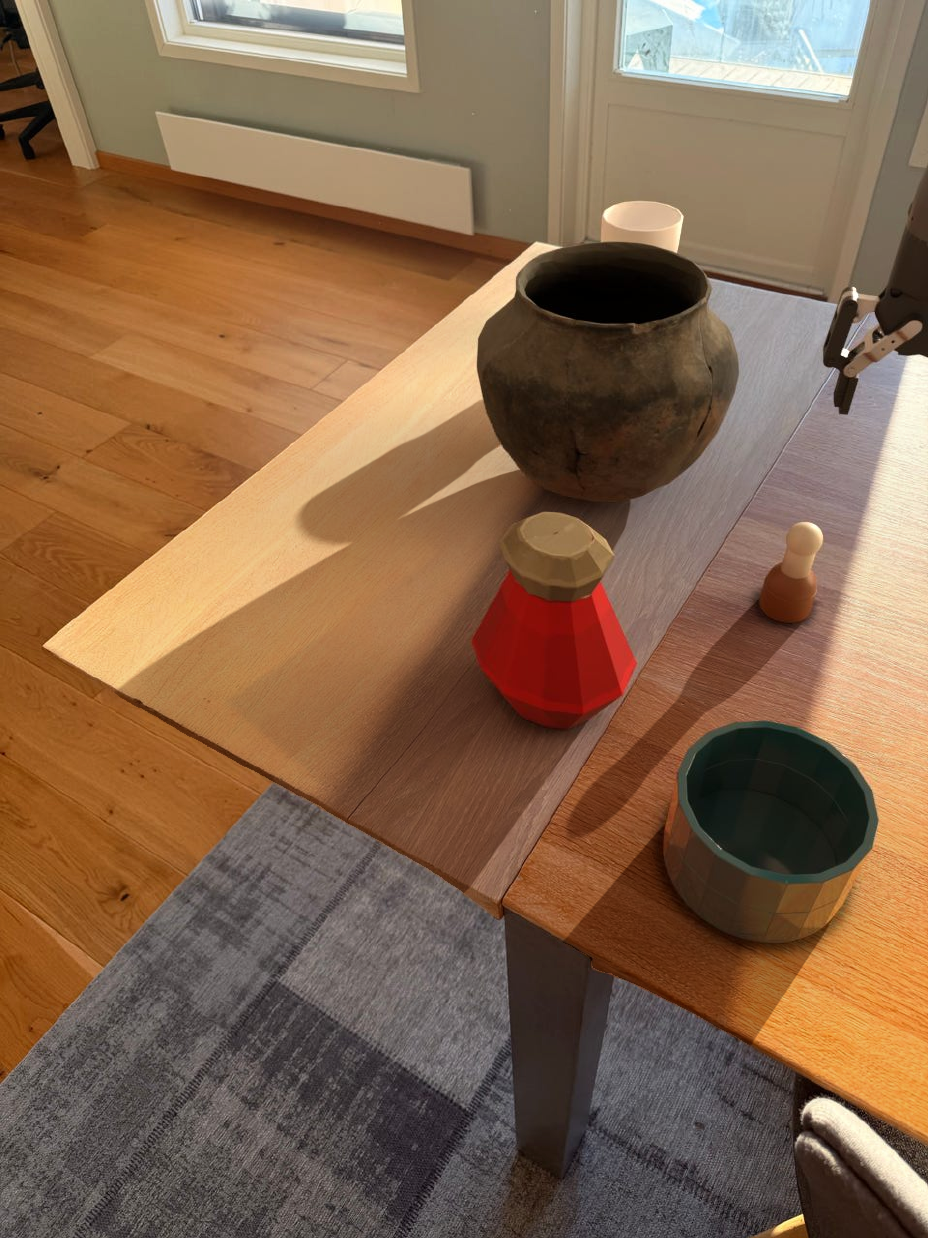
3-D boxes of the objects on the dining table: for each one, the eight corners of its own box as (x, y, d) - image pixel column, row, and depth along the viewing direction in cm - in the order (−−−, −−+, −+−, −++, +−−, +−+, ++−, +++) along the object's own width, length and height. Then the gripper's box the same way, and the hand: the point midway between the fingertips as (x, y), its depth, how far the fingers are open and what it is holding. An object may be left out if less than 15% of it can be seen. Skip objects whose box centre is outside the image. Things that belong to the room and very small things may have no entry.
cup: (633, 357, 133) (646, 238, 121) (578, 331, 140) (585, 215, 127) (683, 331, 138) (700, 214, 126) (627, 307, 145) (638, 194, 133)
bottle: (659, 695, 87) (688, 532, 73) (571, 782, 80) (585, 621, 66) (533, 619, 95) (538, 459, 81) (443, 692, 88) (431, 531, 74)
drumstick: (815, 598, 96) (841, 517, 88) (803, 629, 92) (830, 548, 85) (765, 583, 98) (787, 503, 90) (753, 613, 94) (774, 533, 87)
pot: (513, 577, 99) (516, 372, 82) (459, 425, 122) (452, 238, 104) (763, 538, 103) (817, 333, 85) (666, 397, 125) (692, 212, 108)
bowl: (861, 824, 76) (893, 759, 70) (823, 977, 67) (856, 918, 61) (694, 762, 81) (710, 696, 75) (637, 896, 72) (650, 834, 66)
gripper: (861, 237, 66) (808, 429, 77) (1077, 253, 63) (989, 451, 74) (858, 199, 71) (809, 384, 82) (1059, 213, 68) (979, 403, 79)
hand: (894, 416), depth 78 cm, fingers open, 8 cm apart
